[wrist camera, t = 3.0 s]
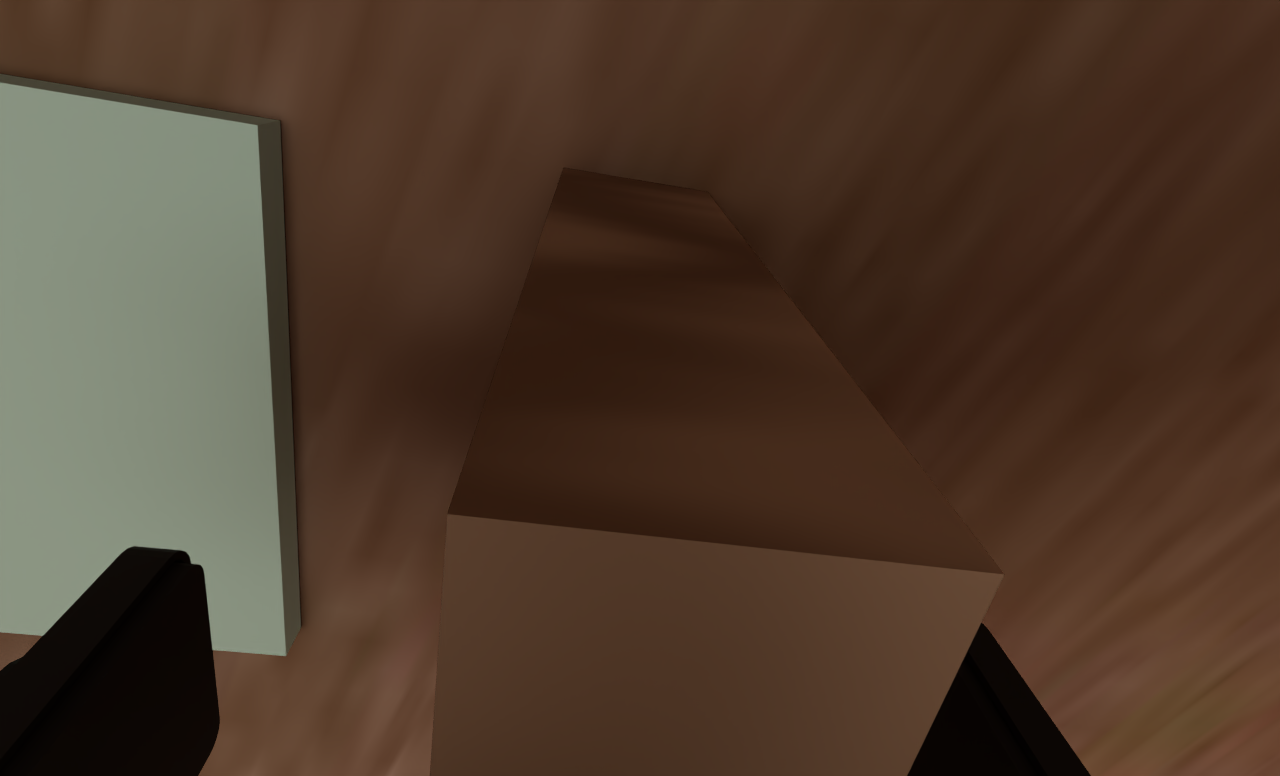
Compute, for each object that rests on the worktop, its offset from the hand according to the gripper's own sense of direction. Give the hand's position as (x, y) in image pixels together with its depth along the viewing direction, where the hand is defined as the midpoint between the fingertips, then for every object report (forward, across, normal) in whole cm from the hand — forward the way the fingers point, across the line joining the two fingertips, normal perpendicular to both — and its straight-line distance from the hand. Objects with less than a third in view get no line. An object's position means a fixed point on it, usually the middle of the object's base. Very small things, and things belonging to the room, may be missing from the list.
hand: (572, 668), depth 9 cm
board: (+8, 0, 0) cm, 8 cm away
